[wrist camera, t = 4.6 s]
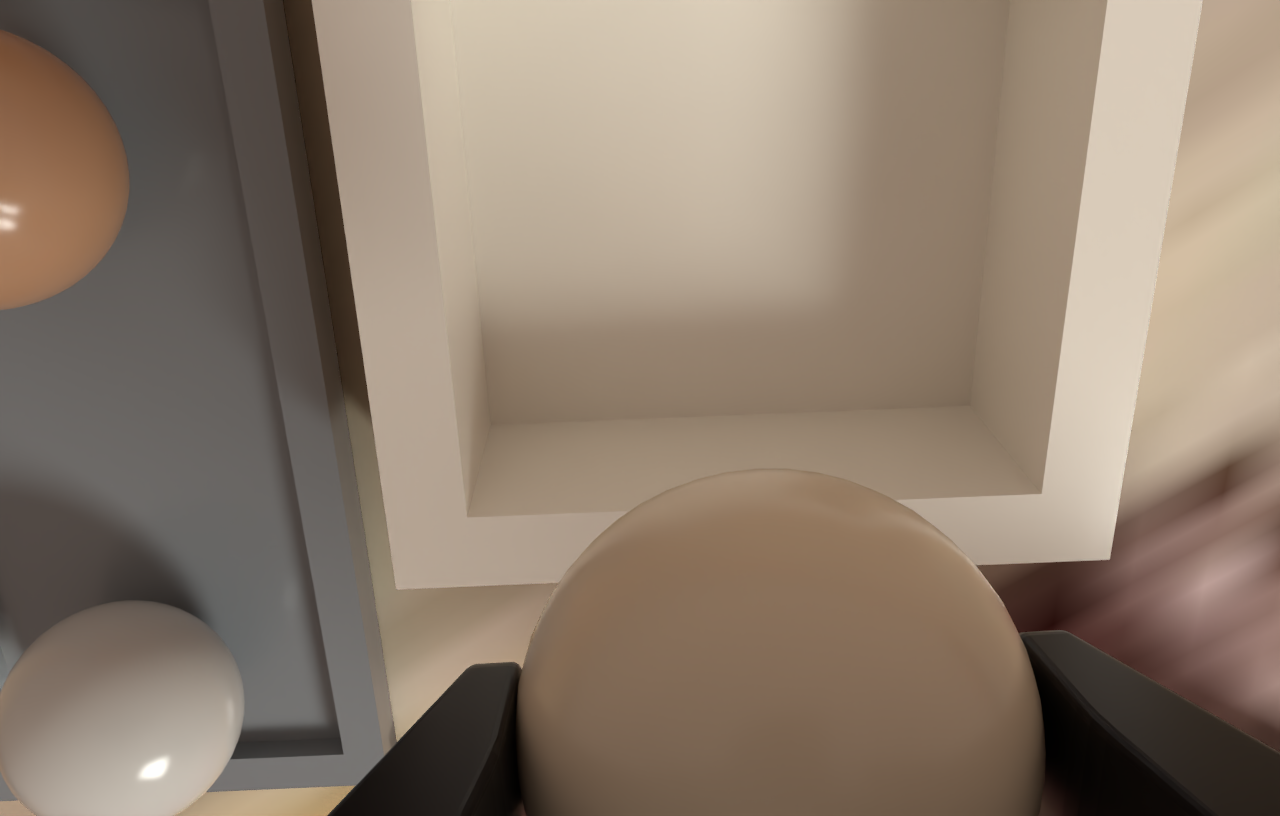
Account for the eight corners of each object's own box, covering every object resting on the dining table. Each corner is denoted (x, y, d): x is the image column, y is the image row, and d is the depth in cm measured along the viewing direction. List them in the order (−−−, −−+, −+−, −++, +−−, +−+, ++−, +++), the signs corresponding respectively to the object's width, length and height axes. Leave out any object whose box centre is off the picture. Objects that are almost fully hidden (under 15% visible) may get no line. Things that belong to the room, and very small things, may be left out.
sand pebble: (941, 742, 11) (1108, 1140, 7) (552, 763, 11) (519, 1173, 7) (964, 378, 9) (1195, 646, 6) (513, 406, 9) (444, 691, 6)
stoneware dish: (1017, 449, 20) (1109, 559, 16) (435, 472, 20) (396, 590, 16) (1097, -221, 16) (1249, -277, 12) (355, -197, 15) (275, -247, 12)
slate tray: (397, 749, 22) (388, 784, 21) (17, 766, 22) (-8, 801, 21) (270, -81, 16) (249, -84, 15) (-260, -64, 16) (-314, -65, 15)
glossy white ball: (287, 724, 21) (220, 883, 18) (89, 732, 21) (-20, 894, 18) (253, 554, 20) (171, 690, 16) (38, 562, 20) (-93, 700, 16)
